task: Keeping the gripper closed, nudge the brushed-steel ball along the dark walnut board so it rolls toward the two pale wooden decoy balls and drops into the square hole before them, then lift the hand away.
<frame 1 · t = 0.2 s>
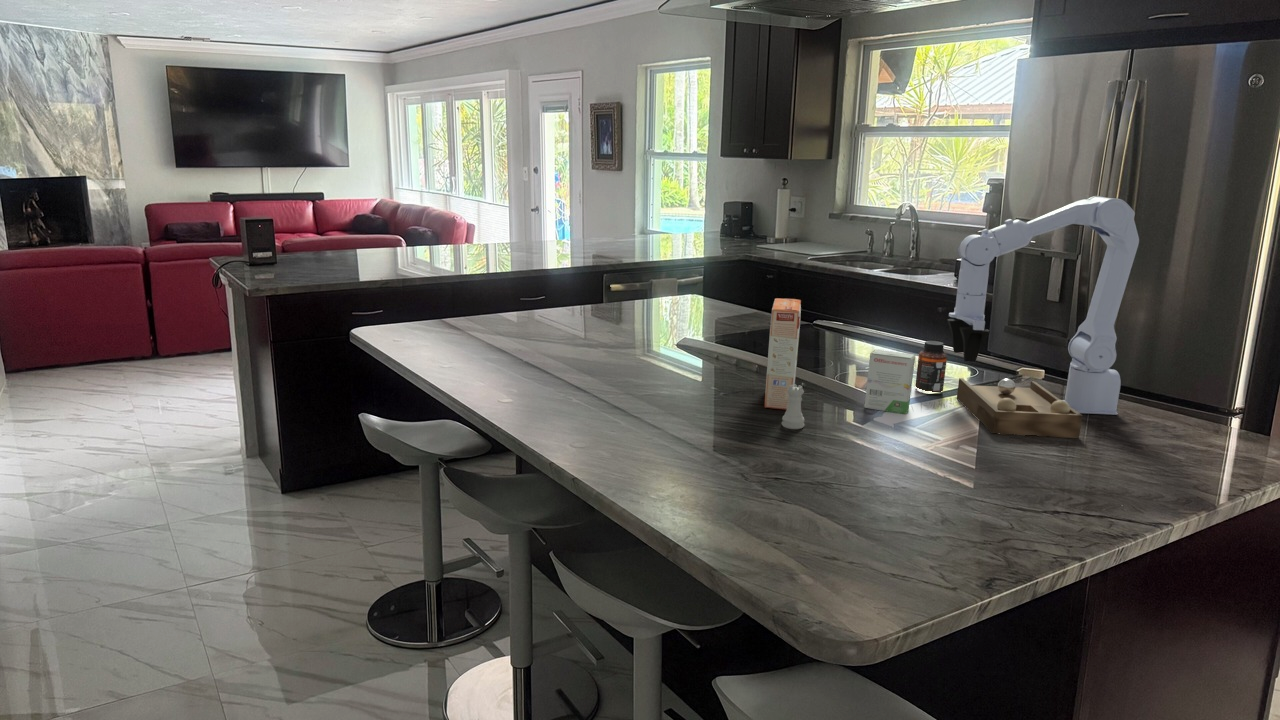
hand: (964, 356, 182), 10 cm above the table, tool pointing down, fingers open, 7 cm apart
rook chess piece: (792, 427, 165), on the table
steel ball: (1006, 386, 179), point 5 cm above the table, touching board
board: (1013, 416, 175), on the table
cracker box: (779, 401, 182), on the table
supplement bottle: (928, 392, 191), on the table
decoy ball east: (1006, 406, 165), point 5 cm above the table, touching board
ink box: (887, 409, 178), on the table
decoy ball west: (1060, 408, 164), point 5 cm above the table, touching board
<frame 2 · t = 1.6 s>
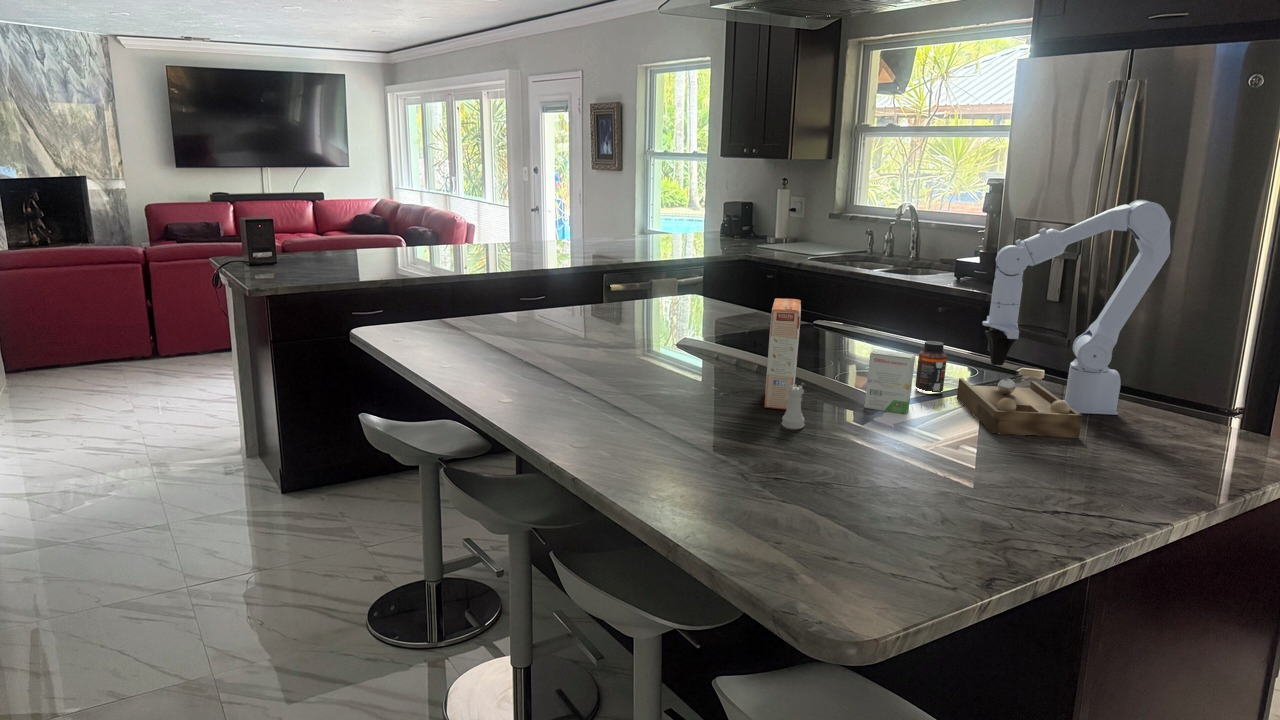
hand: (996, 364, 185), 8 cm above the table, tool pointing down, fingers closed
nothing on the table moved.
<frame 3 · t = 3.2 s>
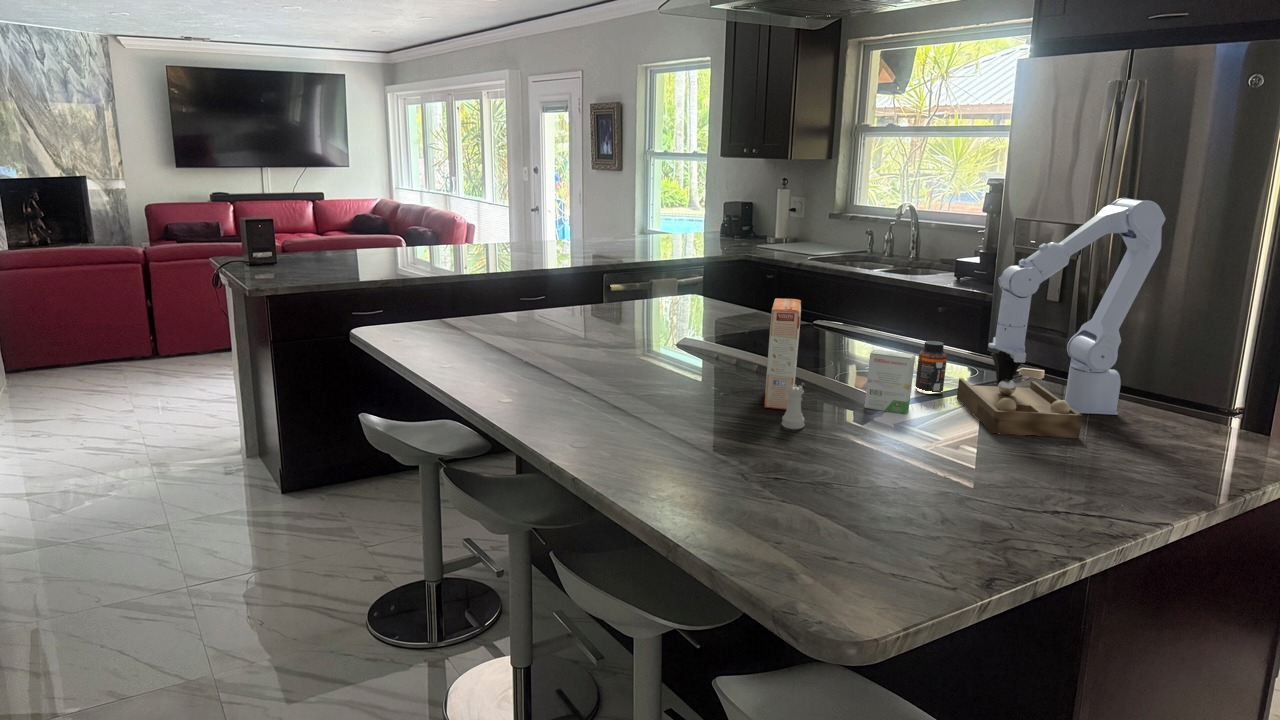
hand: (1003, 387, 181), 4 cm above the table, tool pointing down, fingers closed, pressing on steel ball
steel ball: (1006, 387, 179), point 5 cm above the table, tilted 14°, touching board, gripper
everything else where it was.
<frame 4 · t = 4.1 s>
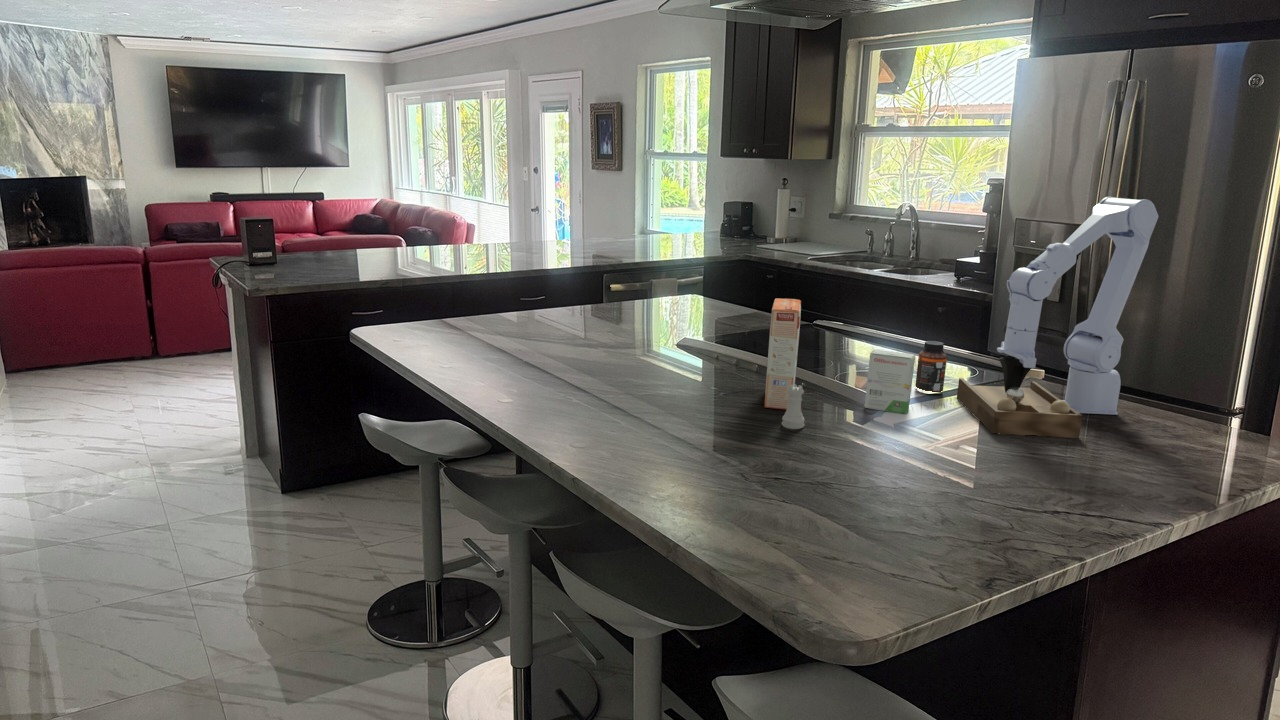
hand: (1011, 393, 175), 5 cm above the table, tool pointing down, fingers closed, pressing on steel ball
steel ball: (1015, 394, 173), point 5 cm above the table, tilted 148°, touching board, gripper
everything else where it was.
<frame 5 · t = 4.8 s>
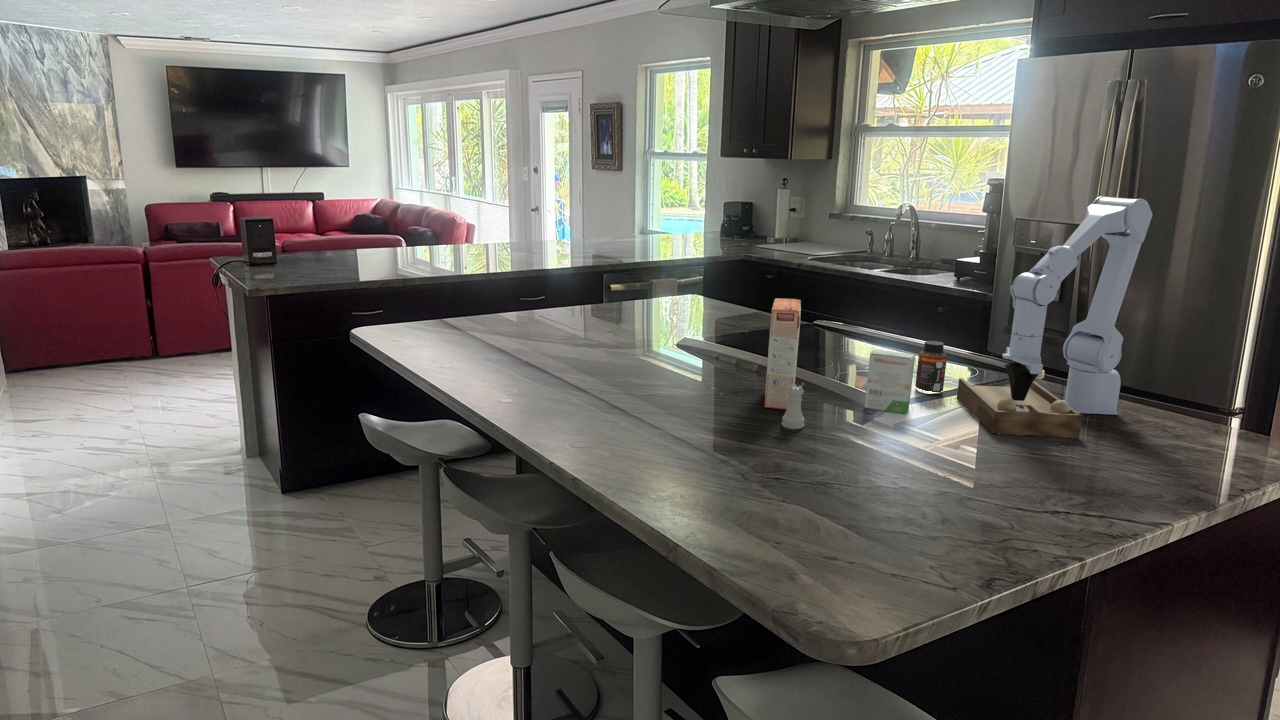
hand: (1017, 399, 173), 4 cm above the table, tool pointing down, fingers closed
steel ball: (1021, 413, 171), point 2 cm above the table, tilted 18°
everything else where it was.
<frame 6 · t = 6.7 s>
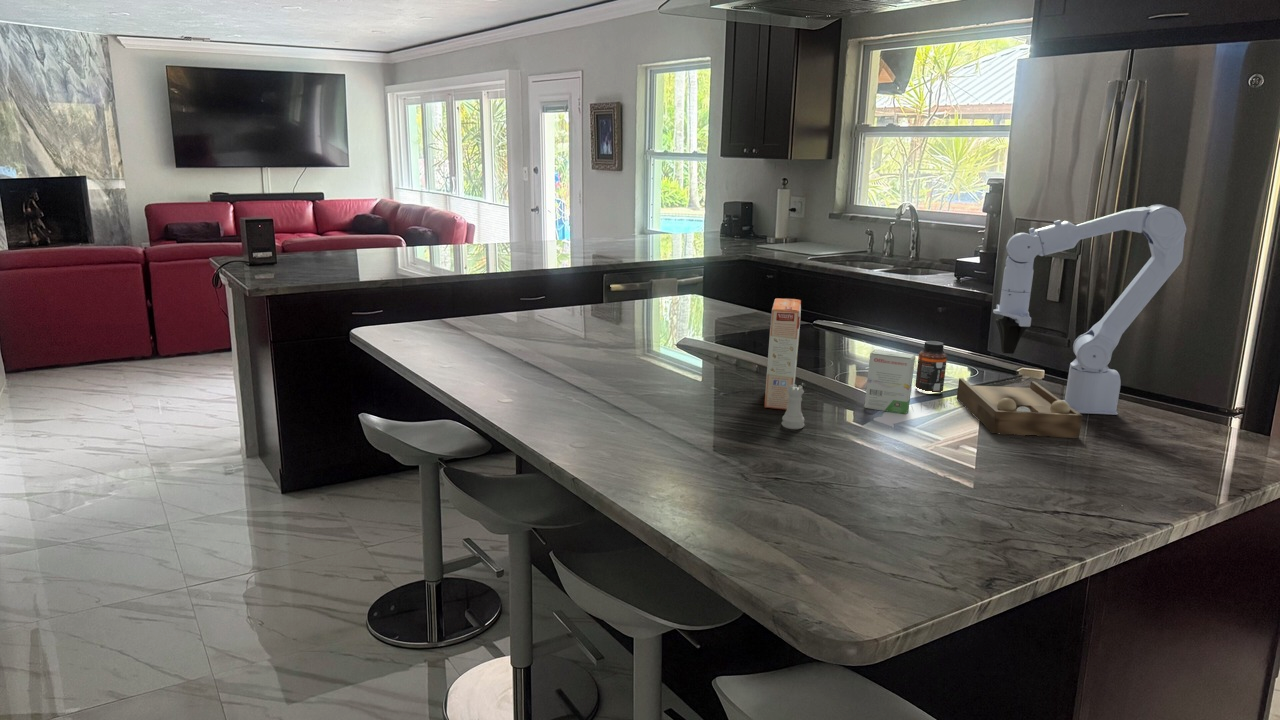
hand: (1007, 352, 184), 10 cm above the table, tool pointing down, fingers closed
steel ball: (1023, 415, 170), point 2 cm above the table, tilted 45°
everything else where it was.
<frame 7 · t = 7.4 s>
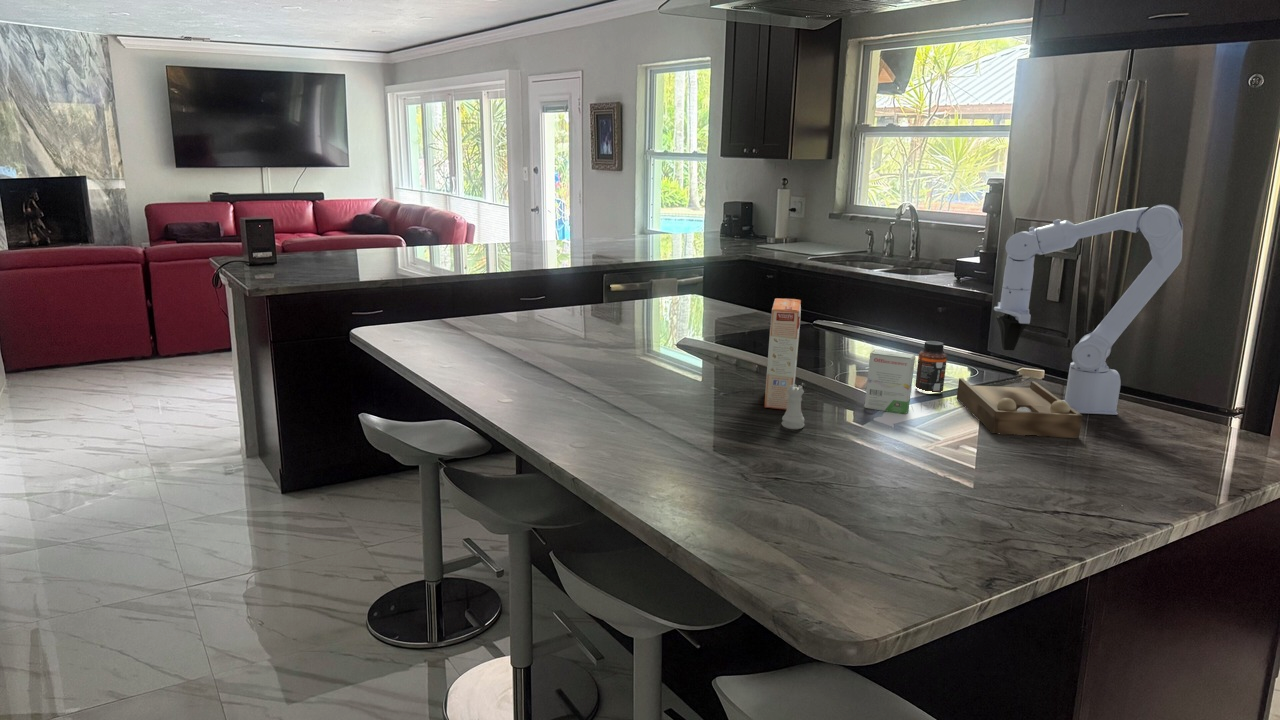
hand: (1008, 349, 187), 10 cm above the table, tool pointing down, fingers closed
steel ball: (1023, 415, 170), point 2 cm above the table, tilted 55°
everything else where it was.
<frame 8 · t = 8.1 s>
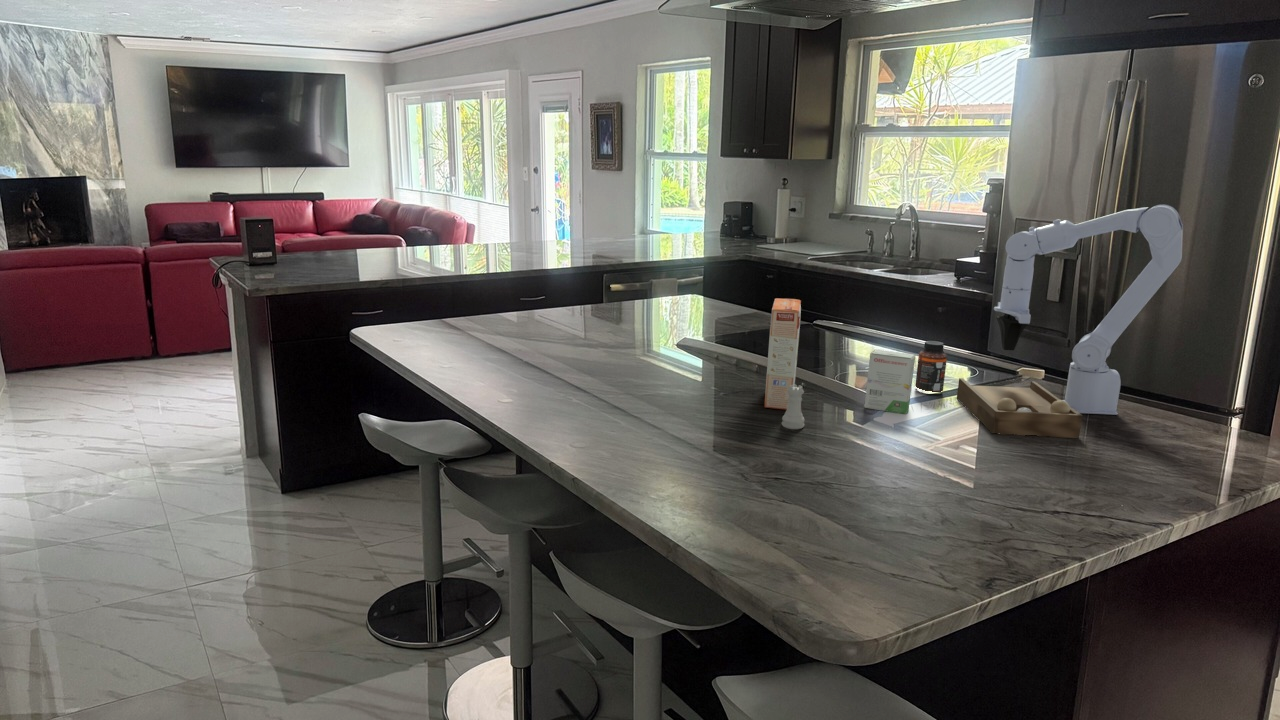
hand: (1008, 349, 187), 10 cm above the table, tool pointing down, fingers closed
steel ball: (1024, 415, 170), point 2 cm above the table, tilted 64°
everything else where it was.
at the end: steel ball 0.7 cm from the target spot in the board, point 1.7 cm above the board's base; steel ball touching table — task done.
